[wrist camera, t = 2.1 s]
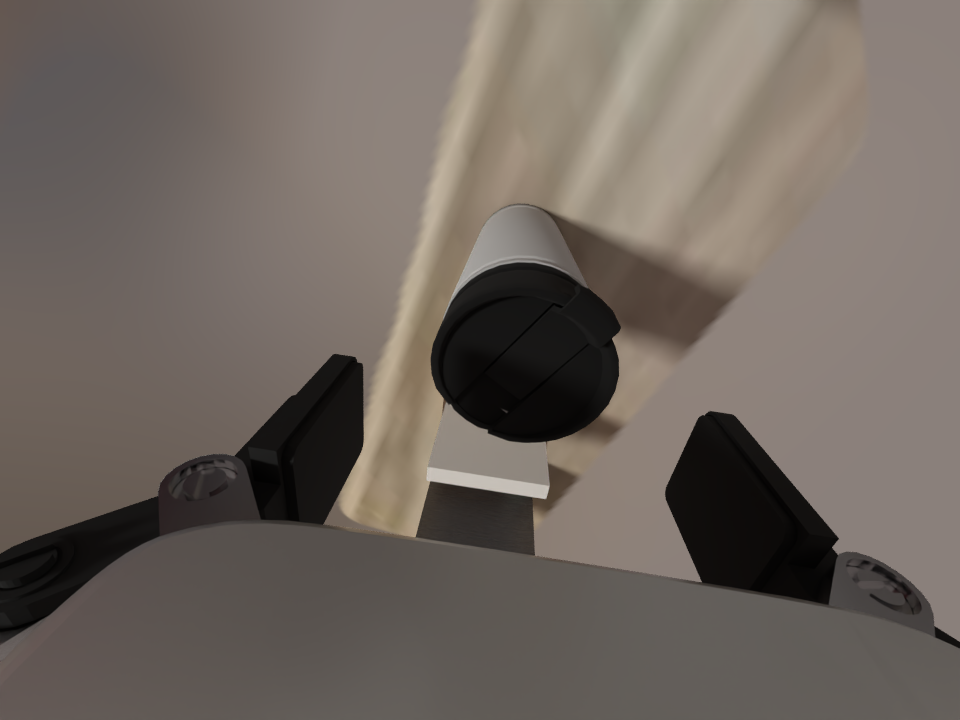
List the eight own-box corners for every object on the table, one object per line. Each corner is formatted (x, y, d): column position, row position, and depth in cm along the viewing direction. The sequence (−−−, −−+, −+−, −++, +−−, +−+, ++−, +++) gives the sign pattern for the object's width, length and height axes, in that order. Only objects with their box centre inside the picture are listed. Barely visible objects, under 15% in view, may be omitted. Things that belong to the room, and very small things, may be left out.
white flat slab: (450, 386, 35) (427, 466, 26) (553, 402, 35) (565, 488, 26) (449, 397, 35) (426, 480, 27) (550, 413, 35) (561, 501, 26)
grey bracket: (449, 353, 35) (412, 464, 23) (552, 368, 35) (570, 489, 23) (437, 471, 42) (403, 608, 29) (523, 485, 41) (525, 628, 29)
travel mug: (582, 239, 30) (677, 373, 12) (521, 302, 32) (526, 488, 15) (520, 179, 28) (523, 232, 10) (461, 251, 31) (385, 389, 13)
